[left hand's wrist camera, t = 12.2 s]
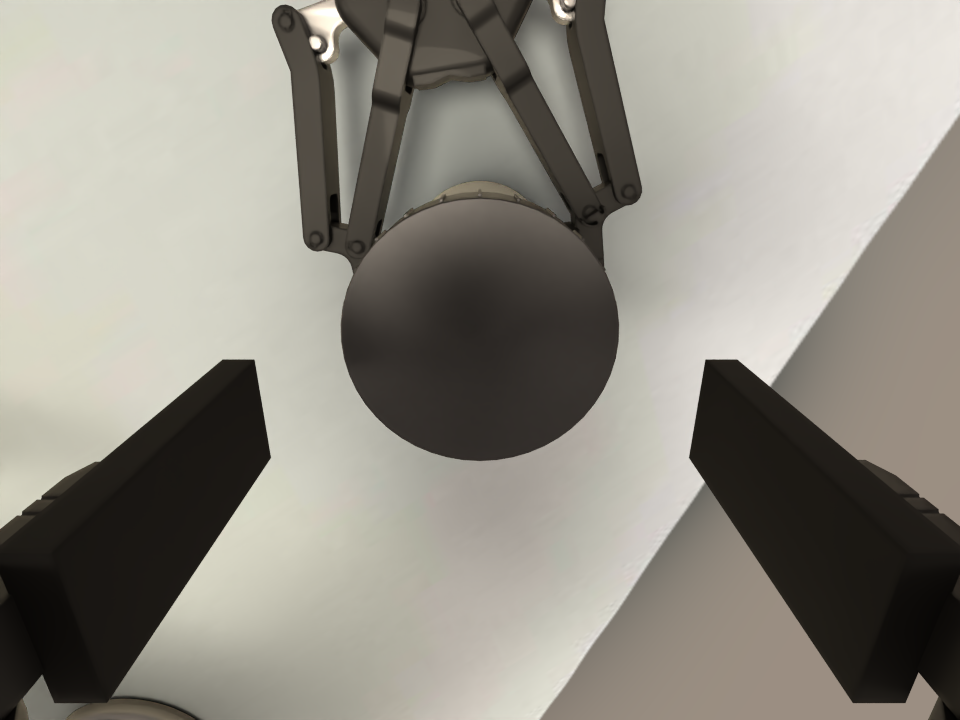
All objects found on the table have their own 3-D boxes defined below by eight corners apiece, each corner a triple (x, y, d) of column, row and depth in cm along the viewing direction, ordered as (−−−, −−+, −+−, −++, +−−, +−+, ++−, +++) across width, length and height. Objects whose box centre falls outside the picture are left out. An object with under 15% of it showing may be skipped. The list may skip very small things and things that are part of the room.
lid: (631, 209, 18) (651, 218, 16) (577, 442, 22) (589, 475, 20) (360, 172, 18) (344, 175, 16) (349, 416, 21) (334, 446, 19)
